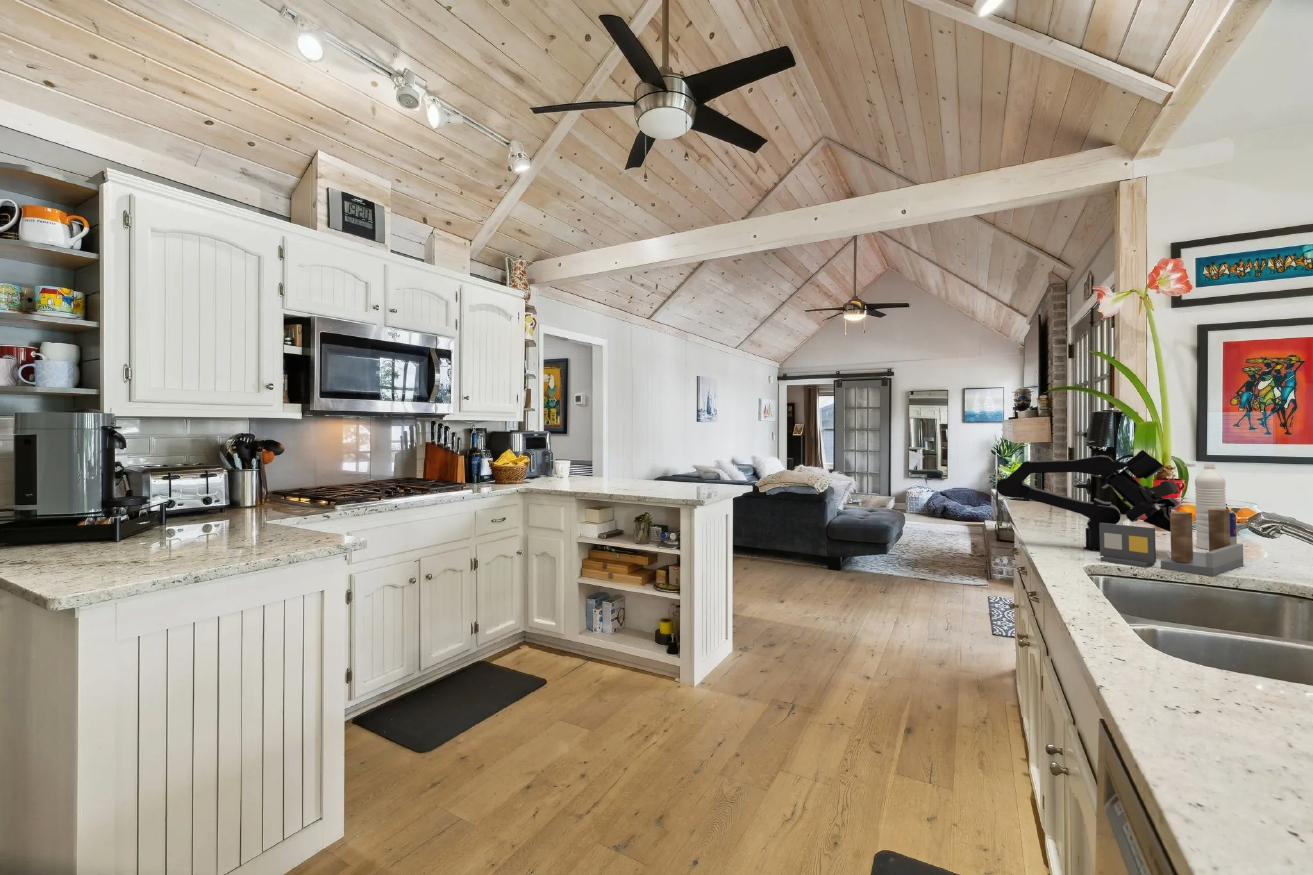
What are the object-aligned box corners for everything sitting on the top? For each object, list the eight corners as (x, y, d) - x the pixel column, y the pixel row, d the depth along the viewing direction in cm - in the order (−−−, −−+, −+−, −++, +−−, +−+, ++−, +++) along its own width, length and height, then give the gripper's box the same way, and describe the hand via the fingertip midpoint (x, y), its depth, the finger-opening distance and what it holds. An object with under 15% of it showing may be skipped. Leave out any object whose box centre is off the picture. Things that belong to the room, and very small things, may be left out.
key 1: (1171, 560, 146) (1169, 512, 146) (1177, 558, 148) (1176, 511, 148) (1186, 562, 143) (1185, 514, 143) (1193, 560, 145) (1191, 512, 145)
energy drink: (1242, 556, 158) (1241, 513, 158) (1219, 556, 159) (1218, 512, 159) (1227, 552, 163) (1226, 510, 163) (1205, 552, 164) (1204, 510, 164)
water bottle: (1224, 547, 171) (1222, 462, 171) (1229, 551, 165) (1227, 464, 165) (1184, 544, 176) (1182, 462, 176) (1188, 548, 170) (1186, 463, 170)
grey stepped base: (1160, 568, 147) (1160, 547, 147) (1192, 558, 157) (1192, 538, 157) (1213, 576, 138) (1212, 553, 138) (1243, 565, 148) (1242, 544, 148)
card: (1096, 560, 158) (1095, 523, 158) (1105, 558, 161) (1104, 522, 161) (1150, 568, 148) (1149, 529, 148) (1159, 565, 150) (1158, 527, 150)
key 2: (1209, 555, 150) (1208, 509, 150) (1215, 553, 152) (1214, 508, 152) (1224, 557, 148) (1223, 510, 148) (1230, 555, 150) (1229, 509, 150)
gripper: (1139, 472, 157) (1192, 518, 147) (1169, 469, 166) (1221, 512, 156) (1106, 499, 164) (1154, 544, 154) (1136, 494, 173) (1184, 537, 163)
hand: (1180, 533), depth 157 cm, fingers closed
